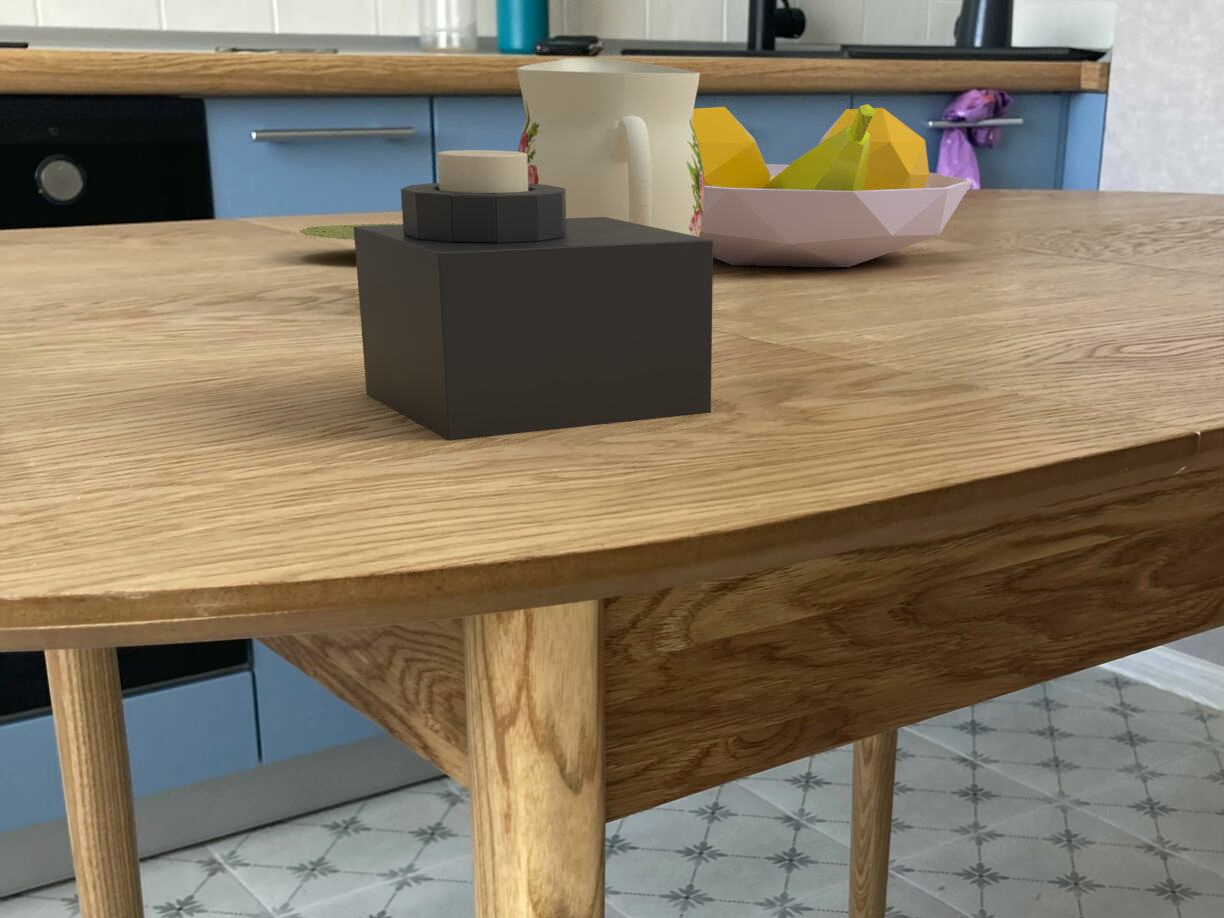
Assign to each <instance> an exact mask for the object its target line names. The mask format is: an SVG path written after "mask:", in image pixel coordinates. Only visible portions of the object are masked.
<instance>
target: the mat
mask: <svg viewBox="0 0 1224 918" xmlns="http://www.w3.org/2000/svg"><path fill="white" fill-rule="evenodd" d="M400 224H401V223H394V222H393V223H361V224H356V223H355V224H344V225H343V224H340V225H317V226H311V227H307V228H304V229H300V230H299V233H300V234H302V235H305V236H306V237H307V236H310V237H314V238H315V237H318V238H323V239H324V238H327V239H335V240H354V241H355V238H354V227H355V226H373V225H400Z"/></svg>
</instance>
